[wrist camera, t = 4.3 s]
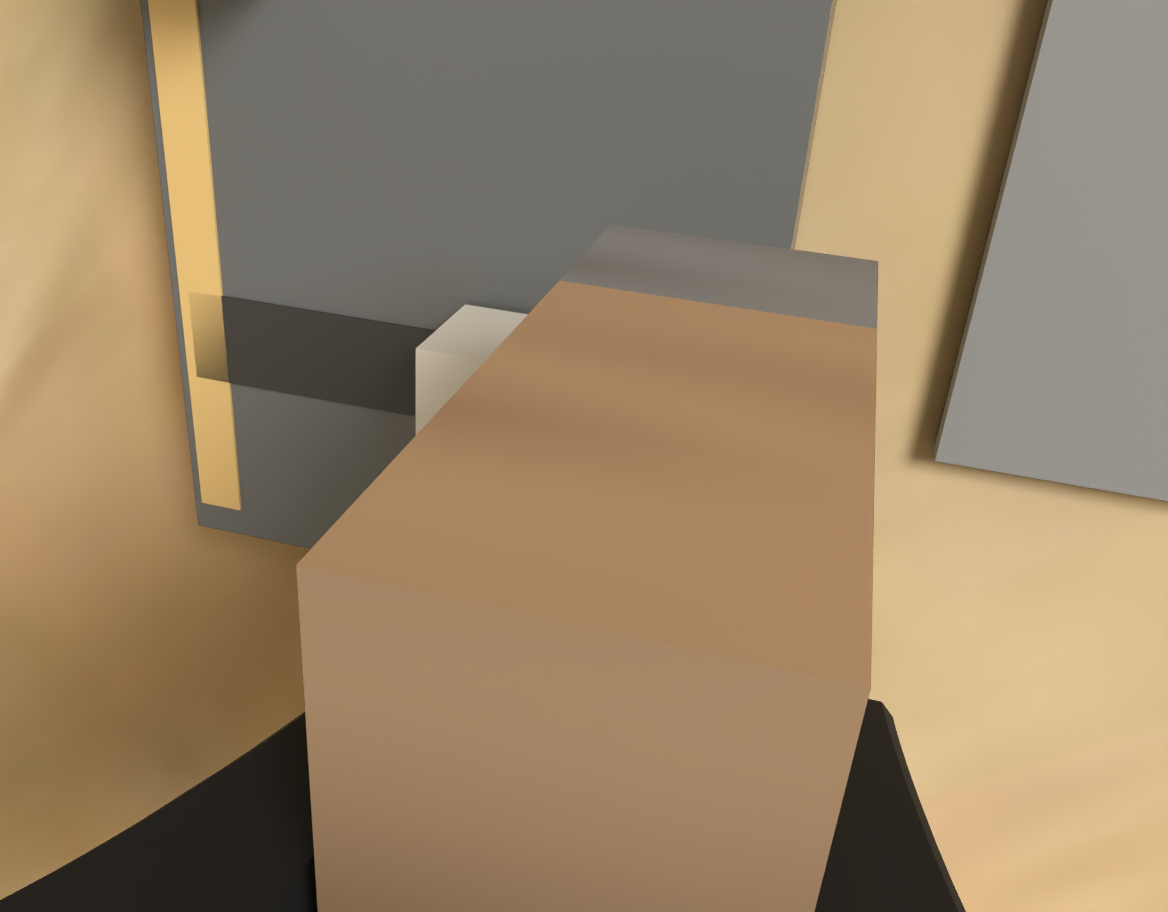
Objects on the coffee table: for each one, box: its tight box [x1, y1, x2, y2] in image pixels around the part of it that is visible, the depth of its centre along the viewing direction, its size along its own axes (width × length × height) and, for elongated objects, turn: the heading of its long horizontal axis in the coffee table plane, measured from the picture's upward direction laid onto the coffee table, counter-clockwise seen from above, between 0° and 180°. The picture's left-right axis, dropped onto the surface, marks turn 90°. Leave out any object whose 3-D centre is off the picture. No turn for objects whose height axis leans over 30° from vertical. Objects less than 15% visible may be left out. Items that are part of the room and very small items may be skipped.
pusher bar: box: [296, 224, 878, 912], centre depth 8 cm, size 7×2×6 cm, turn 176°
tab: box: [416, 304, 528, 435], centre depth 14 cm, size 2×2×2 cm
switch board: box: [140, 0, 836, 549], centre depth 15 cm, size 12×9×2 cm
